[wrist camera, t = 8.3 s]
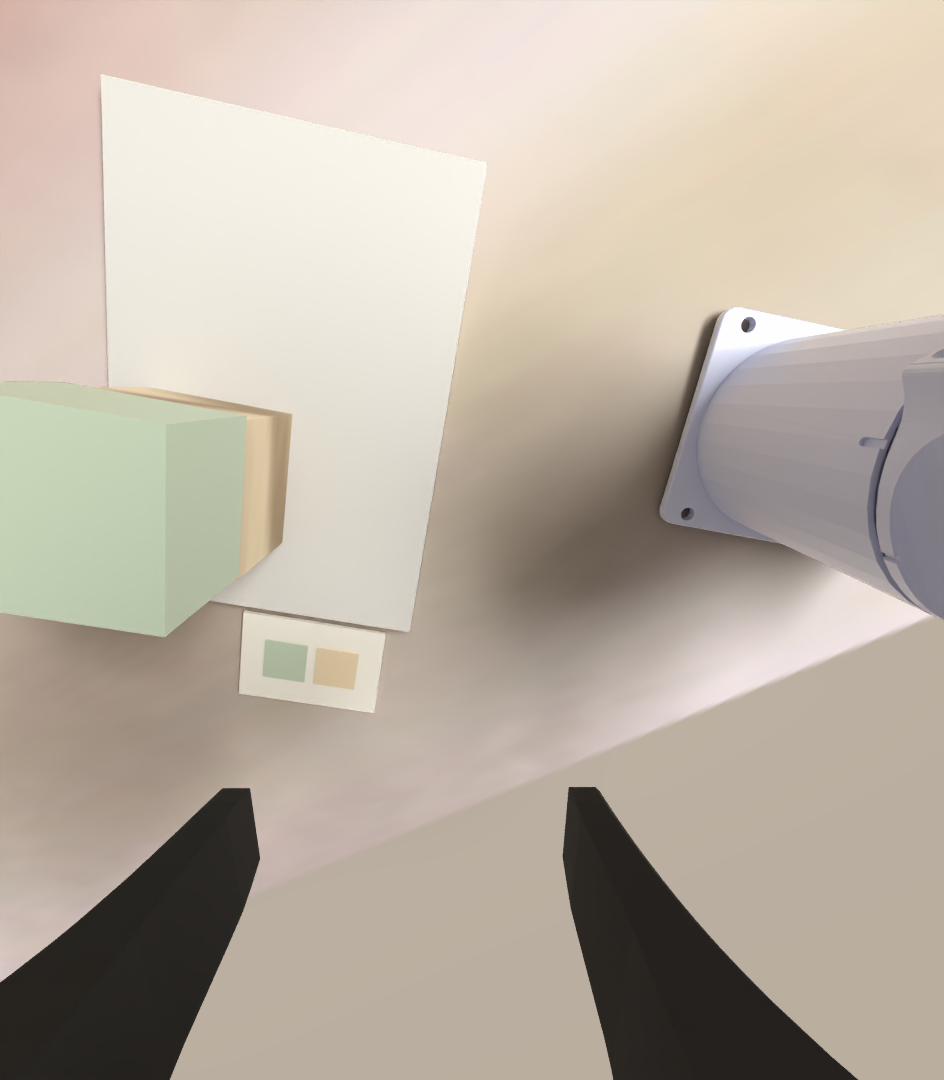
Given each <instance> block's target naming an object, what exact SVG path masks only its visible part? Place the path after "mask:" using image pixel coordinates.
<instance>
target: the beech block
mask: <svg viewBox="0 0 944 1080" xmlns="http://www.w3.org/2000/svg"><path fill="white" fill-rule="evenodd" d="M92 388H98V389H103V390H109V391H114V392H120V393H125V394H131V395H136V396H142V397H147V398H153V399H158V400H164V401H169V402H175V403H180V404H186V405H191V406H197V407H202V408H207V409H213V410H218V411H224V412H229V413H235V414H240V415H246V416H247V421H246V440H245V460H244V480H243V500H242V520H241V540H240V559H239V577H237V578H236V579H235V580H238V579H239V578H241V577H242V576H243V575H244V574H245V573H247V572H248V571H249V570H250V569H251V568H253V567H254V566H255V565H256V564H257V563H259V562H260V561H261V560H262V559H263V558H265V557H266V556H267V555H268V554H269V553H271V552H272V551H273V550H274V549H275V548H277V547H278V546H279V545H280V544H281V543H282V541H283V528H284V515H285V503H286V490H287V478H288V465H289V452H290V440H291V427H292V414H290V413H285V412H279V411H274V410H269V409H263V408H258V407H253V406H247V405H242V404H237V403H231V402H226V401H220V400H215V399H210V398H204V397H199V396H194V395H188V394H183V393H178V392H172V391H167V390H162V389H156V388H142V387H92Z"/></svg>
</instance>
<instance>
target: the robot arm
mask: <svg viewBox="0 0 944 1080" xmlns="http://www.w3.org/2000/svg"><path fill="white" fill-rule="evenodd" d="M743 319H747V320H748V321H749V323H750V325H749V329H748V331H747V332H746V333H745V332H744V331H742V329H741V323H742V321H743ZM685 508H689V509H690V513H689V515H688V516H687V517H685V518H682V517H681V512H682V511H683V510H684V509H685ZM659 513H660V516H661V518H662V519H663V520H665V521H666V522H668V523H671V524H675V525H681V526H687V527H692V528H698V529H703V530H709V531H714V532H720V533H725V534H731V535H736V536H742V537H747V538H753V539H758V540H764V541H769V542H775V543H780V544H783V545H785V546H788V547H790V548H792V549H794V550H796V551H798V552H800V553H802V554H804V555H807V556H809V557H811V558H813V559H815V560H817V561H819V562H821V563H823V564H825V565H828V566H830V567H832V568H834V569H836V570H838V571H840V572H842V573H844V574H847V575H849V576H851V577H853V578H855V579H857V580H859V581H861V582H863V583H865V584H868V585H870V586H872V587H874V588H876V589H878V590H880V591H882V592H884V593H887V594H889V595H891V596H893V597H895V598H897V599H899V600H901V601H903V602H906V603H908V604H910V605H912V606H914V607H916V608H918V609H920V610H922V611H924V612H927V613H929V614H931V615H933V616H935V617H937V618H939V619H941V620H944V314H943V315H936V316H930V317H924V318H918V319H912V320H906V321H899V322H893V323H887V324H881V325H875V326H868V327H862V328H856V329H850V330H844V329H839V328H835V327H830V326H825V325H821V324H816V323H811V322H807V321H802V320H798V319H793V318H788V317H784V316H779V315H774V314H770V313H765V312H761V311H756V310H751V309H747V308H742V307H732V308H729V309H726V310H724V311H723V312H722V313H721V314H720V315H719V317H718V319H717V321H716V324H715V328H714V331H713V334H712V338H711V341H710V344H709V348H708V351H707V354H706V357H705V361H704V364H703V367H702V371H701V374H700V377H699V380H698V384H697V387H696V390H695V394H694V397H693V400H692V404H691V407H690V410H689V413H688V417H687V420H686V423H685V427H684V430H683V433H682V436H681V440H680V443H679V446H678V450H677V453H676V456H675V460H674V463H673V466H672V469H671V473H670V476H669V479H668V483H667V486H666V489H665V493H664V496H663V499H662V502H661V506H660V512H659ZM259 860H260V855H259V848H258V841H257V834H256V827H255V820H254V813H253V806H252V800H251V793H250V788H223V789H221V790H220V791H219V792H218V793H217V794H216V795H215V796H214V797H213V798H212V799H211V800H210V801H209V802H208V803H206V804H205V805H204V806H203V807H202V808H201V809H200V810H199V811H198V812H197V813H196V814H195V815H194V816H193V817H192V818H191V819H190V820H189V821H188V822H187V823H186V824H185V825H184V826H182V827H181V828H180V829H179V830H178V831H177V832H176V833H175V834H174V835H173V836H172V837H171V838H170V839H169V840H168V841H167V842H166V843H165V844H164V845H163V846H161V847H160V848H159V849H158V850H157V851H156V852H155V853H154V854H153V855H152V856H151V857H150V858H149V859H147V860H146V861H145V862H144V863H143V864H142V865H141V866H140V867H139V868H138V869H137V870H136V871H135V872H133V873H132V874H131V875H130V876H129V877H128V878H127V879H126V880H125V881H124V882H122V883H121V884H120V885H119V886H118V887H117V888H116V889H115V890H113V891H112V892H111V893H110V894H109V895H108V896H106V897H105V898H104V899H103V900H102V901H101V902H100V903H98V904H97V905H96V906H95V907H94V908H93V909H92V910H90V911H89V912H88V913H87V914H86V915H85V916H83V917H82V918H81V919H80V920H79V921H78V922H76V923H75V924H74V925H73V926H72V927H70V928H69V929H68V930H67V931H66V932H64V933H63V934H62V935H61V936H59V937H58V938H57V939H56V940H54V941H53V942H52V943H51V944H50V945H48V946H47V947H46V948H44V949H43V950H42V951H41V952H39V953H38V954H37V955H35V956H34V957H33V958H32V959H30V960H29V961H28V962H26V963H25V964H24V965H23V966H21V967H20V968H19V969H17V970H16V971H15V972H14V973H12V974H11V975H10V976H8V977H7V978H6V979H4V980H3V981H2V982H0V1080H170V1078H171V1075H172V1073H173V1070H174V1067H175V1065H176V1063H177V1060H178V1058H179V1055H180V1053H181V1050H182V1048H183V1046H184V1043H185V1041H186V1039H187V1036H188V1034H189V1032H190V1030H191V1027H192V1025H193V1023H194V1021H195V1018H196V1016H197V1014H198V1012H199V1009H200V1007H201V1005H202V1003H203V1001H204V998H205V996H206V994H207V992H208V989H209V987H210V985H211V983H212V981H213V978H214V976H215V974H216V971H217V969H218V967H219V965H220V963H221V960H222V958H223V956H224V954H225V951H226V949H227V947H228V945H229V942H230V940H231V938H232V935H233V933H234V931H235V928H236V926H237V924H238V921H239V919H240V917H241V915H242V912H243V909H244V907H245V904H246V901H247V898H248V895H249V892H250V889H251V886H252V883H253V880H254V876H255V873H256V870H257V867H258V864H259ZM563 861H564V868H565V875H566V881H567V888H568V893H569V900H570V906H571V910H572V915H573V919H574V923H575V927H576V931H577V934H578V938H579V942H580V946H581V950H582V954H583V958H584V961H585V965H586V969H587V973H588V977H589V981H590V985H591V988H592V992H593V996H594V1000H595V1004H596V1007H597V1011H598V1015H599V1019H600V1023H601V1027H602V1030H603V1034H604V1038H605V1043H606V1047H607V1052H608V1056H609V1061H610V1065H611V1069H612V1075H613V1080H858V1079H856V1078H855V1077H854V1076H853V1075H852V1074H851V1073H850V1072H848V1071H847V1070H846V1069H845V1068H844V1067H843V1066H841V1065H840V1064H839V1063H838V1062H837V1061H836V1060H835V1059H833V1058H832V1057H831V1056H830V1055H829V1054H828V1053H827V1052H825V1050H823V1048H822V1047H820V1046H819V1045H818V1044H817V1043H816V1042H815V1041H814V1040H813V1039H812V1038H811V1037H810V1036H809V1035H808V1034H806V1033H805V1032H804V1031H803V1030H802V1029H801V1028H800V1027H799V1026H798V1025H797V1024H796V1023H795V1022H794V1021H793V1020H791V1019H790V1018H789V1017H788V1016H787V1015H786V1014H785V1013H784V1012H783V1011H782V1010H781V1009H779V1007H778V1006H776V1005H775V1004H774V1003H773V1002H772V1001H771V1000H770V999H769V998H768V997H767V996H766V995H765V994H764V993H763V992H762V991H761V990H760V989H759V988H758V987H757V986H756V985H755V984H754V983H753V982H752V981H751V980H750V979H749V978H748V977H747V976H746V975H745V973H743V971H741V969H740V968H739V967H738V966H737V965H736V964H735V963H734V962H733V961H732V960H731V959H730V958H729V957H728V956H727V955H726V953H725V952H724V951H723V950H722V949H721V948H720V947H719V946H718V945H717V944H716V943H715V941H714V940H713V939H712V938H711V937H710V936H709V935H708V934H707V933H706V931H705V930H704V929H703V928H702V927H701V926H700V925H699V923H698V922H697V921H696V920H695V919H694V918H693V916H692V915H691V914H690V913H689V912H688V910H687V909H686V908H685V907H684V906H683V905H682V903H681V902H680V901H679V900H678V898H677V897H676V896H675V895H674V894H673V892H672V891H671V890H670V889H669V887H668V886H667V885H666V884H665V882H664V881H663V880H662V879H661V877H660V876H659V875H658V873H657V872H656V871H655V869H654V868H653V867H652V865H651V864H650V863H649V861H648V860H647V859H646V858H645V856H644V855H643V854H642V852H641V851H640V850H639V848H638V847H637V845H636V844H635V843H634V841H633V840H632V838H631V837H630V836H629V834H628V833H627V831H626V830H625V829H624V827H623V826H622V824H621V823H620V822H619V820H618V818H617V817H616V816H615V814H614V812H613V811H612V810H611V808H610V807H609V805H608V803H607V802H606V801H605V799H604V797H603V796H602V794H601V793H600V791H599V790H598V789H597V788H596V787H569V792H568V803H567V814H566V825H565V836H564V848H563Z"/></svg>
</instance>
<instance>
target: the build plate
mask: <svg viewBox="0 0 944 1080" xmlns="http://www.w3.org/2000/svg"><path fill="white" fill-rule="evenodd" d="M101 101H102V142H103V182H104V223H105V263H106V304H107V345H108V385H109V387H142V388H156V389H162V390H167V391H172V392H178V393H183V394H188V395H194V396H199V397H204V398H210V399H215V400H220V401H226V402H231V403H237V404H242V405H247V406H253V407H258V408H263V409H269V410H274V411H279V412H285V413H290V414H292V427H291V440H290V452H289V465H288V478H287V490H286V503H285V515H284V528H283V541H282V543H281V544H280V545H279V546H278V547H277V548H275V549H274V550H273V551H272V552H271V553H269V554H268V555H267V556H266V557H265V558H263V559H262V560H261V561H260V562H259V563H257V564H256V565H255V566H254V567H253V568H251V569H250V570H249V571H248V572H247V573H245V574H244V575H243V576H242V577H241V578H239V579H238V580H234V581H233V582H231V583H230V584H229V585H228V586H226V587H225V588H224V589H223V590H222V591H220V592H219V593H218V594H217V595H216V596H214V597H213V598H212V599H211V600H209V601H215V602H221V603H227V604H233V605H240V606H246V607H252V608H259V609H265V610H271V611H278V612H284V613H290V614H297V615H303V616H309V617H316V618H322V619H328V620H335V621H341V622H347V623H354V624H360V625H366V626H373V627H379V628H385V629H392V630H398V631H404V632H410V628H411V622H412V616H413V610H414V604H415V598H416V592H417V586H418V580H419V574H420V568H421V562H422V556H423V550H424V544H425V538H426V532H427V526H428V520H429V514H430V508H431V502H432V496H433V490H434V484H435V478H436V472H437V466H438V460H439V454H440V448H441V442H442V436H443V430H444V424H445V418H446V412H447V406H448V400H449V394H450V388H451V382H452V376H453V370H454V364H455V358H456V352H457V346H458V340H459V333H460V327H461V321H462V315H463V309H464V303H465V297H466V291H467V285H468V279H469V273H470V267H471V261H472V255H473V249H474V243H475V237H476V231H477V225H478V219H479V213H480V207H481V201H482V195H483V189H484V183H485V177H486V171H487V163H486V162H482V161H478V160H473V159H469V158H465V157H460V156H456V155H451V154H447V153H443V152H438V151H434V150H430V149H425V148H421V147H417V146H412V145H408V144H404V143H399V142H395V141H390V140H386V139H382V138H377V137H373V136H369V135H364V134H360V133H356V132H351V131H347V130H343V129H338V128H334V127H329V126H325V125H321V124H316V123H312V122H308V121H303V120H299V119H295V118H290V117H286V116H282V115H277V114H273V113H268V112H264V111H260V110H255V109H251V108H247V107H242V106H238V105H234V104H229V103H225V102H221V101H216V100H212V99H207V98H203V97H199V96H194V95H190V94H186V93H181V92H177V91H173V90H168V89H164V88H160V87H155V86H151V85H146V84H142V83H138V82H133V81H129V80H125V79H120V78H116V77H112V76H107V75H103V74H101Z"/></svg>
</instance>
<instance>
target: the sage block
mask: <svg viewBox="0 0 944 1080" xmlns="http://www.w3.org/2000/svg"><path fill="white" fill-rule="evenodd" d="M246 421H247V416H246V415H240V414H235V413H229V412H224V411H218V410H213V409H207V408H202V407H197V406H191V405H186V404H180V403H175V402H169V401H164V400H158V399H153V398H147V397H142V396H136V395H131V394H125V393H120V392H114V391H109V390H103V389H98V388H92V387H87V386H81V385H76V384H71V383H65V382H24V381H0V613H6V614H12V615H19V616H26V617H32V618H39V619H46V620H52V621H59V622H66V623H72V624H79V625H86V626H93V627H99V628H106V629H113V630H119V631H126V632H133V633H139V634H146V635H153V636H159V637H166V636H167V635H168V634H169V633H171V632H172V631H173V630H174V629H176V628H177V627H178V626H179V625H180V624H182V623H183V622H184V621H185V620H186V619H188V618H189V617H190V616H191V615H192V614H194V613H195V612H196V611H197V610H199V609H200V608H201V607H202V606H203V605H205V604H206V603H207V602H208V601H209V600H211V599H212V598H213V597H214V596H216V595H217V594H218V593H219V592H220V591H222V590H223V589H224V588H225V587H226V586H228V585H229V584H230V583H231V582H233V581H234V580H235V579H236V578H237V577H239V559H240V540H241V520H242V500H243V480H244V460H245V440H246Z"/></svg>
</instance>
